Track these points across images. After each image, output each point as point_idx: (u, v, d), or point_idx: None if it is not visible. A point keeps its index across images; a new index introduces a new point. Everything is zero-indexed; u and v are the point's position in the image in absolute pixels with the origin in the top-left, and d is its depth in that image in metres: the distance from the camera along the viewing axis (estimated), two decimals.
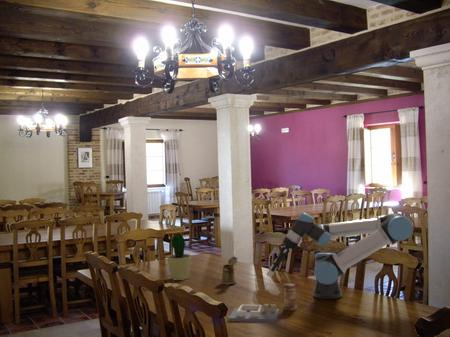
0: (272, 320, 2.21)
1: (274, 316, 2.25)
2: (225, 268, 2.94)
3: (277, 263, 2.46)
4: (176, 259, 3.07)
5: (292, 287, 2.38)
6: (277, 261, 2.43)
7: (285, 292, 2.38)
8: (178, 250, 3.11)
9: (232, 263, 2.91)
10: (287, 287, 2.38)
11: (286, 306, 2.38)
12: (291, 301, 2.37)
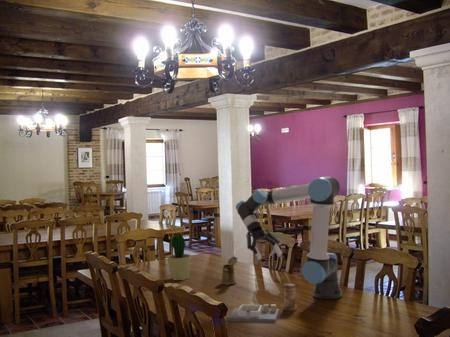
0: (272, 320, 2.21)
1: (274, 316, 2.25)
2: (225, 268, 2.94)
3: None
4: (176, 259, 3.07)
5: (292, 287, 2.38)
6: (248, 244, 2.53)
7: (285, 292, 2.38)
8: (178, 250, 3.11)
9: (232, 263, 2.91)
10: (287, 287, 2.38)
11: (286, 306, 2.38)
12: (291, 301, 2.37)
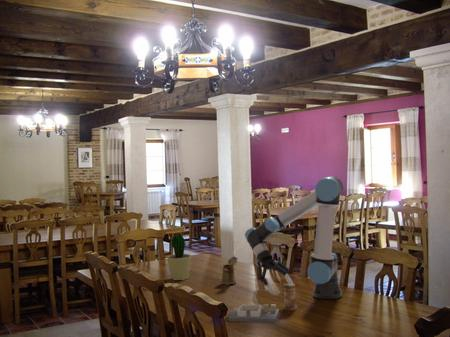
0: (272, 320, 2.21)
1: (274, 316, 2.25)
2: (225, 268, 2.94)
3: None
4: (176, 259, 3.07)
5: (292, 287, 2.38)
6: (258, 275, 2.44)
7: (285, 292, 2.38)
8: (178, 250, 3.11)
9: (232, 263, 2.91)
10: (287, 287, 2.38)
11: (286, 306, 2.38)
12: (291, 301, 2.37)
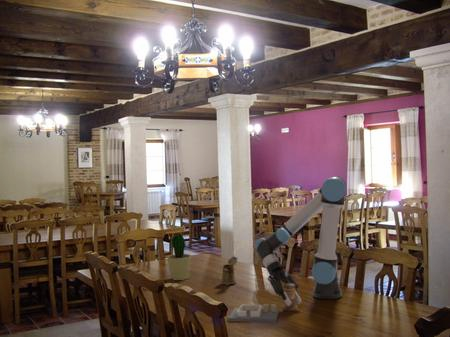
0: (272, 320, 2.21)
1: (274, 316, 2.25)
2: (225, 268, 2.94)
3: None
4: (176, 259, 3.07)
5: (292, 287, 2.38)
6: (275, 290, 2.39)
7: None
8: (178, 250, 3.11)
9: (232, 263, 2.91)
10: (287, 287, 2.38)
11: (286, 306, 2.38)
12: (291, 301, 2.37)
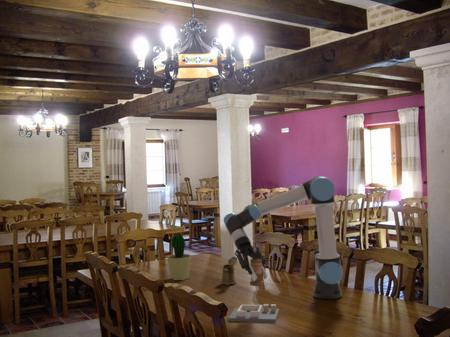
0: (272, 320, 2.21)
1: (274, 316, 2.25)
2: (225, 268, 2.94)
3: None
4: (176, 259, 3.07)
5: (258, 262, 2.32)
6: (241, 264, 2.34)
7: None
8: (178, 250, 3.11)
9: (232, 263, 2.91)
10: (253, 261, 2.32)
11: (252, 281, 2.33)
12: (257, 275, 2.32)
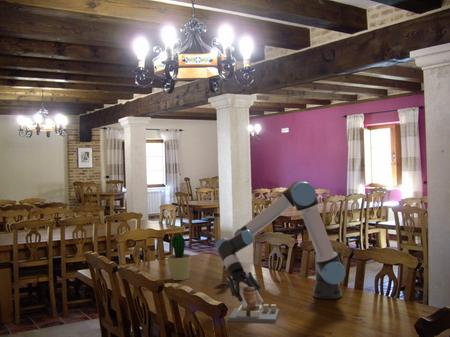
0: (272, 320, 2.21)
1: (274, 316, 2.25)
2: (225, 268, 2.94)
3: None
4: (176, 259, 3.07)
5: (251, 290, 2.29)
6: (231, 291, 2.30)
7: (244, 296, 2.30)
8: (178, 250, 3.11)
9: None
10: (246, 290, 2.29)
11: (245, 310, 2.29)
12: (251, 304, 2.28)
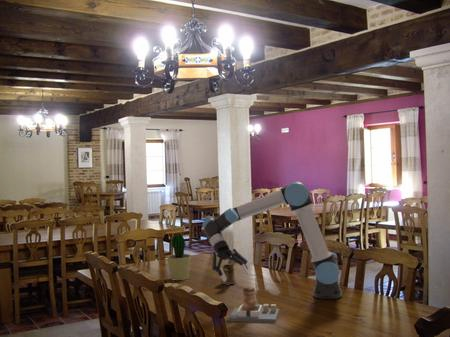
0: (272, 320, 2.21)
1: (274, 316, 2.25)
2: (225, 268, 2.94)
3: None
4: (176, 259, 3.07)
5: (251, 290, 2.29)
6: (212, 265, 2.40)
7: (244, 296, 2.30)
8: (178, 250, 3.11)
9: (232, 263, 2.91)
10: (246, 290, 2.29)
11: (245, 310, 2.29)
12: (251, 305, 2.28)
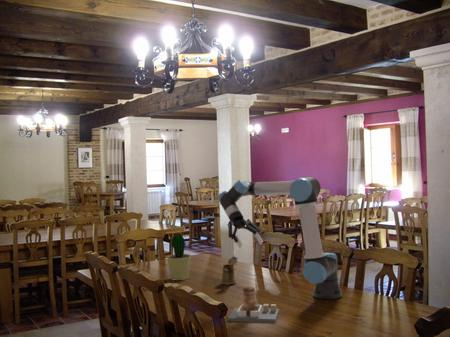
0: (272, 320, 2.21)
1: (274, 316, 2.25)
2: (225, 268, 2.94)
3: None
4: (176, 259, 3.07)
5: (251, 290, 2.29)
6: (229, 233, 2.58)
7: (244, 296, 2.30)
8: (178, 250, 3.11)
9: (232, 263, 2.91)
10: (246, 290, 2.29)
11: (245, 310, 2.29)
12: (251, 305, 2.28)
